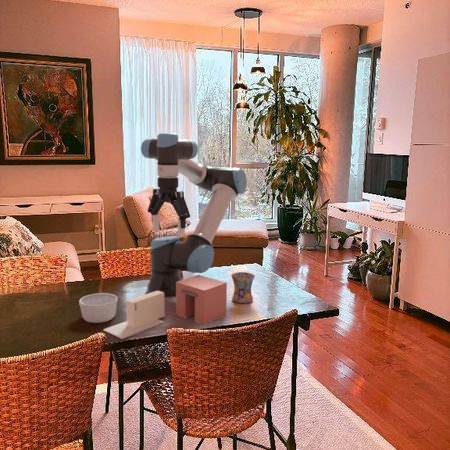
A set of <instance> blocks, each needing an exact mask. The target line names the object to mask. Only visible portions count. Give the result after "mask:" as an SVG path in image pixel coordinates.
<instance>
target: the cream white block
mask: <svg viewBox="0 0 450 450" xmlns="http://www.w3.org/2000/svg"><path fill="white" fill-rule="evenodd" d="M165 316H166V315H165V296H164V292H161V291H155V292H152V293H148V292H147V293H146V294H143V295H139V296H136V297H132V298H129V299H128V300H126V321H127V326H130V327H132V328H136V327H138V326H141V325H144V324H146V323H149V322H151V321H154V320H157V319H158V320H160V319H162V318H164V317H165Z"/></svg>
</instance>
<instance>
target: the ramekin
mask: <svg viewBox="0 0 450 450" xmlns="http://www.w3.org/2000/svg"><path fill="white" fill-rule="evenodd" d="M118 300H119V299H118V296H117V295H115V294H112V293H108V292H107V293H106V292H98V293H92V294H88V295H85V296H82V297H81V298H80V299H79V301H78V305H79V306H80V312H81V317H82V318H83V320H84V321H86V322H87V323H92V324H96V323H97V324H98V323H99V324H100V323H105V322H109V321H110V320H111V321H112V319H114V318H115V316H116V314H117V307H118Z"/></svg>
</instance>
